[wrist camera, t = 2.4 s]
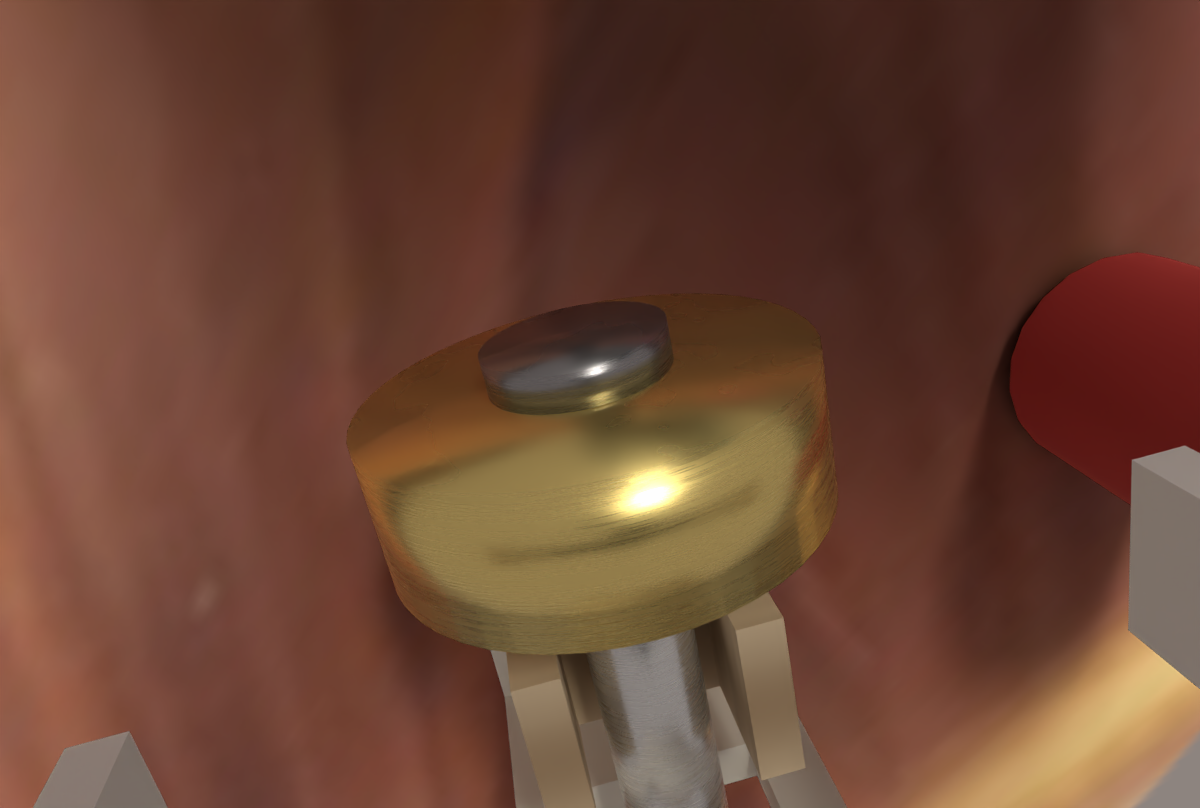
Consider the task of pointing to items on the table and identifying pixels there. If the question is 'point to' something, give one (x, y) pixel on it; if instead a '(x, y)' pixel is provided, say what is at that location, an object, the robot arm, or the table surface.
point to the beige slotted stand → (796, 798)
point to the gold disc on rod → (607, 500)
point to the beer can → (1112, 366)
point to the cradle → (728, 659)
